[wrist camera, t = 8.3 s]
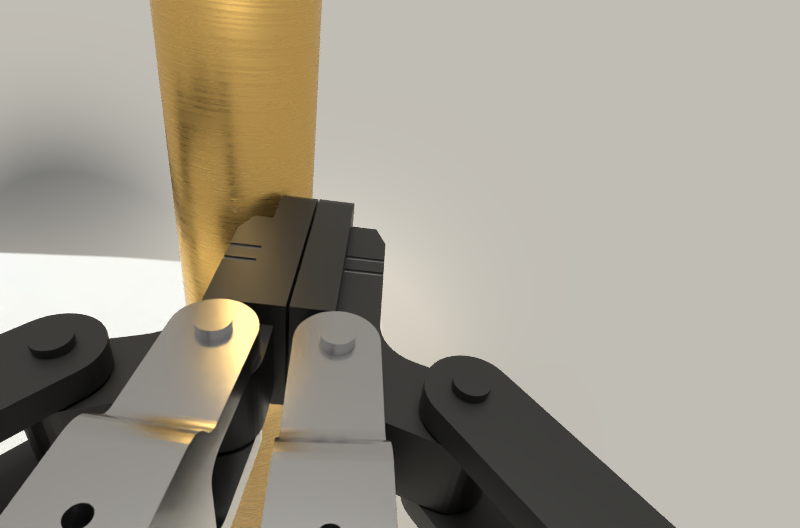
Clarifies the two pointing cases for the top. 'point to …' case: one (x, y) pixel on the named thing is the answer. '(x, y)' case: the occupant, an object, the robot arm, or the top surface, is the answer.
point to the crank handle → (236, 138)
